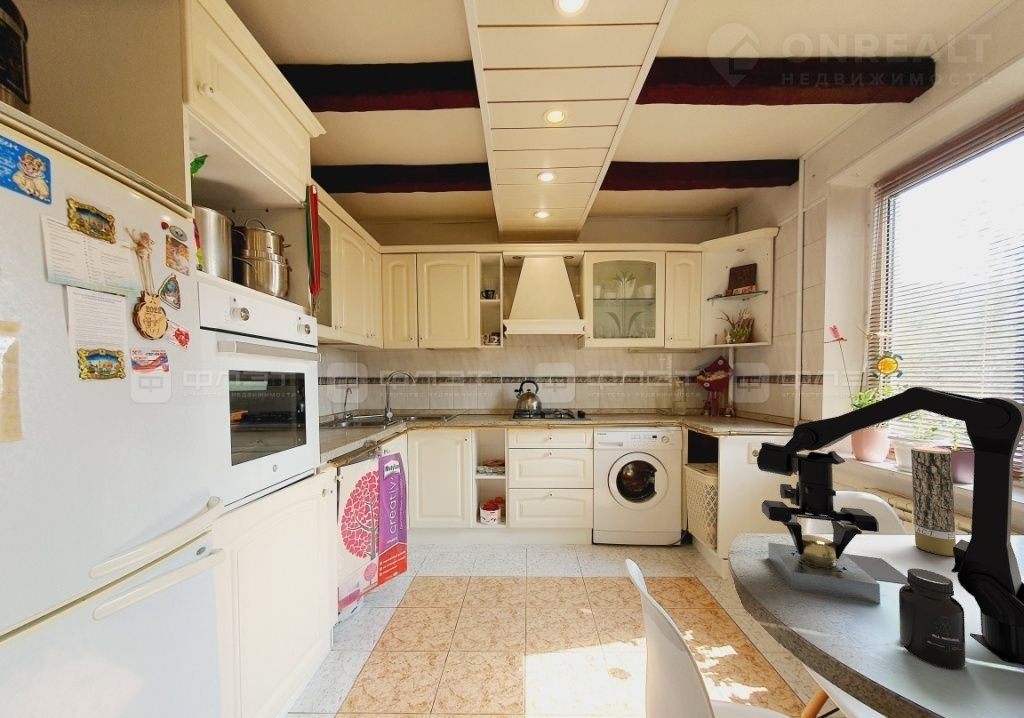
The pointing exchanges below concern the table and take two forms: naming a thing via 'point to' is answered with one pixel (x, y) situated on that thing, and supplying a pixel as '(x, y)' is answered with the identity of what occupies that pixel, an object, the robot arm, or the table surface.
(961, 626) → the supplement bottle
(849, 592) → the housing
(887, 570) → the rubber mat
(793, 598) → the table surface
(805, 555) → the end cover
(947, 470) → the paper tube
